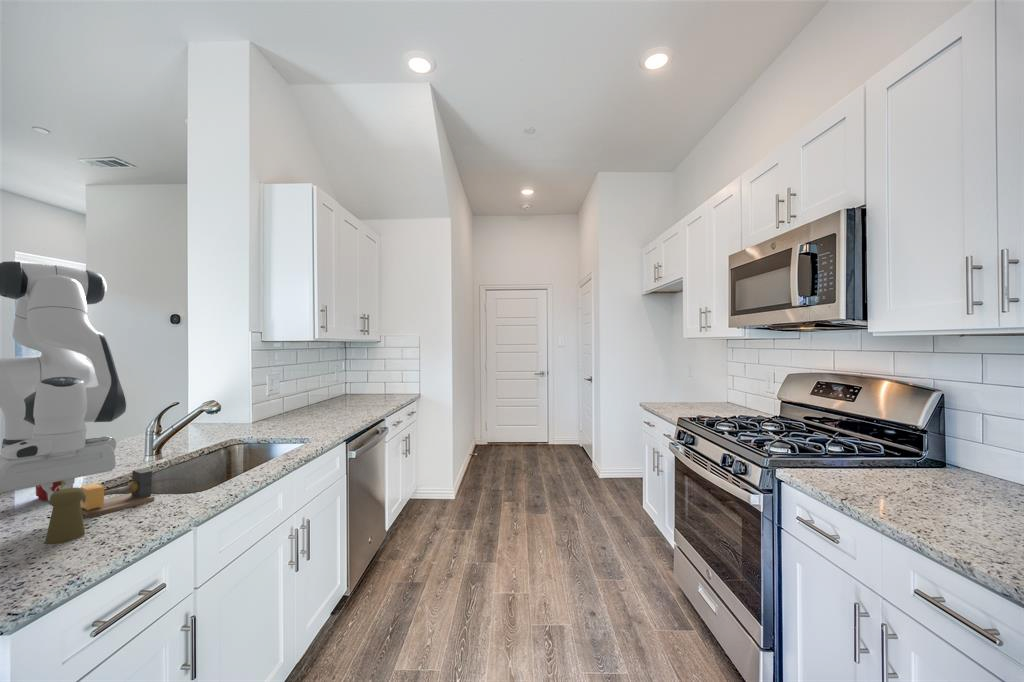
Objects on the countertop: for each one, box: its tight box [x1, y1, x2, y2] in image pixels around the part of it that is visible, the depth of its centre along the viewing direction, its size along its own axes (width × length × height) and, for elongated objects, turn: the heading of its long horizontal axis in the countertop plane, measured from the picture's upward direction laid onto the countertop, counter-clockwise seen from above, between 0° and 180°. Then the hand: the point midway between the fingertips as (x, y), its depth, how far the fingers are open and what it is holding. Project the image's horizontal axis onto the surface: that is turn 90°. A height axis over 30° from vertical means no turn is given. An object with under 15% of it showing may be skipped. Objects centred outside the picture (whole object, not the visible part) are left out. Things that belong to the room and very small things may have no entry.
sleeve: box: [80, 482, 105, 510], centre depth 103 cm, size 5×3×5 cm, turn 63°
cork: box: [44, 487, 86, 546], centre depth 89 cm, size 6×6×11 cm
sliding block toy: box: [81, 467, 155, 518], centre depth 107 cm, size 9×13×8 cm
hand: (57, 498), depth 97 cm, fingers closed
